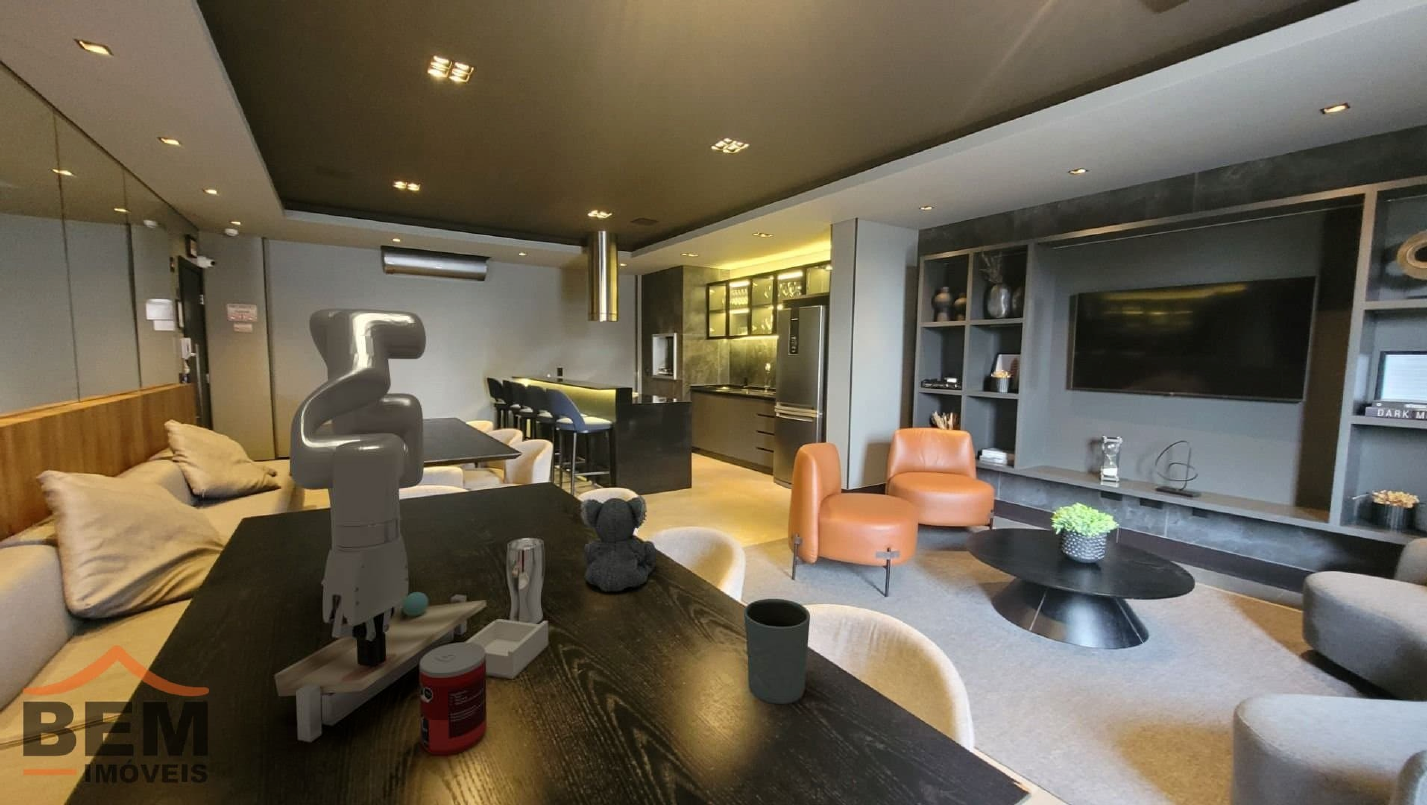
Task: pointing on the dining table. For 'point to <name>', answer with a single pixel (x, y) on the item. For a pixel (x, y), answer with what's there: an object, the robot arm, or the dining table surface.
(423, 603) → the ball
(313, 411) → the robot arm
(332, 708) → the lever stand
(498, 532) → the dining table surface
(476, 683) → the canned food
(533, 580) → the beer glass
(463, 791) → the dining table surface
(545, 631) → the white open box
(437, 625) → the lever
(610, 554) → the koala plush
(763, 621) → the dark green cup
